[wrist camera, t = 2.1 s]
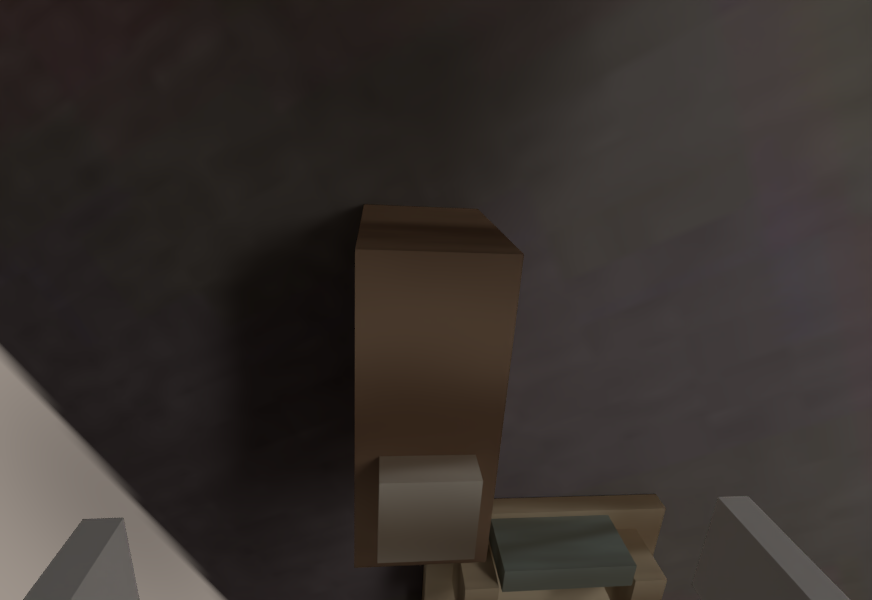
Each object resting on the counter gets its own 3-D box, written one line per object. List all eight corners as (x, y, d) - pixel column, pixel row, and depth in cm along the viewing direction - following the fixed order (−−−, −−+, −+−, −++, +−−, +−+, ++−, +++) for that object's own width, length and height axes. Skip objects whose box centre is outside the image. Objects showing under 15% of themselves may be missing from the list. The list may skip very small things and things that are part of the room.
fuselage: (364, 203, 19) (352, 261, 12) (477, 208, 20) (537, 267, 12) (362, 440, 23) (352, 600, 16) (457, 438, 24) (493, 593, 16)
